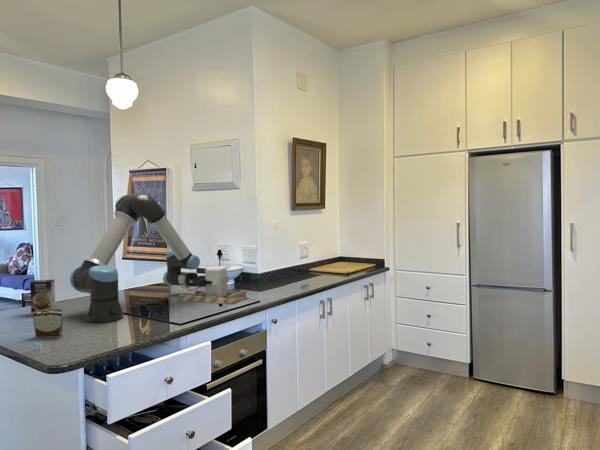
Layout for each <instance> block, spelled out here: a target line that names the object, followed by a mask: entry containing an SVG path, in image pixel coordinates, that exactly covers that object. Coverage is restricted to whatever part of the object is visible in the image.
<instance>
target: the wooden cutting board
mask: <svg viewBox="0 0 600 450" xmlns="http://www.w3.org/2000/svg"><path fill="white" fill-rule="evenodd" d="M227 292H228V295H226V296H224V297H222V298H218V297H217V296H207V297H206V290H203V289H202V290H200V289H196V290H195V291H194V294H195V295H190V294H189V295H188V294H180V295H179V301H185V302H186V301H188V302H198V303H210V304H212V303H213V304H222V305H233V304H235V303H238V302H241V301H243V300H245V299H247V290H240V291H238V292H235V290H234V289H227ZM232 303H233V304H232Z"/></svg>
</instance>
